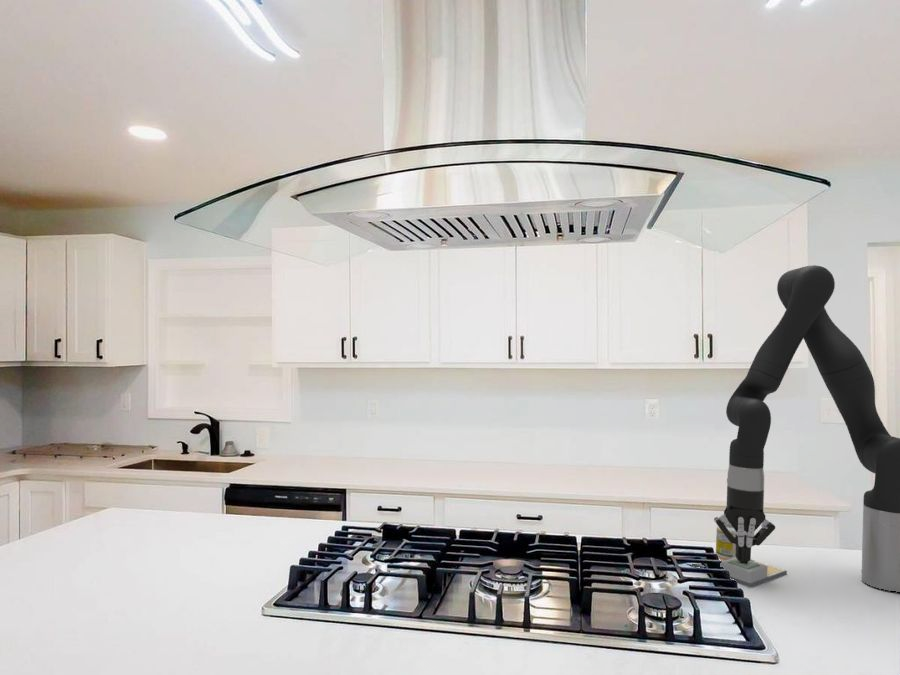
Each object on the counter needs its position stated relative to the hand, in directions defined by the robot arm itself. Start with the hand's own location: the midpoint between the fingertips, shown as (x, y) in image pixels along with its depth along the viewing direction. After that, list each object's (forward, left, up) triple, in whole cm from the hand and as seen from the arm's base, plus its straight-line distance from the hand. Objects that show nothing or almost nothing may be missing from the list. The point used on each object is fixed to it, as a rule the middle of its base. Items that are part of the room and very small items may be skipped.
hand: (743, 562), depth 139 cm
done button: (0, 0, -2) cm, 3 cm away
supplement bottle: (+8, -8, -3) cm, 12 cm away
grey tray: (+4, -4, -4) cm, 7 cm away
